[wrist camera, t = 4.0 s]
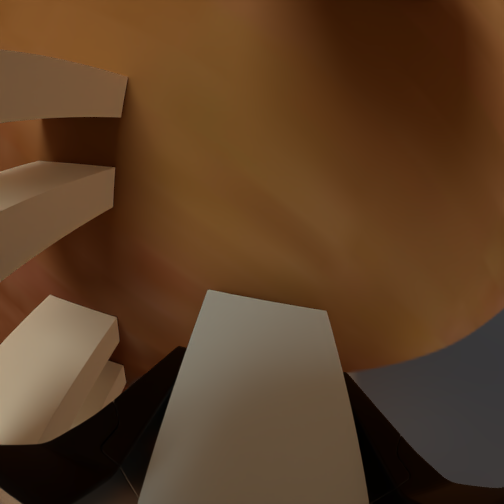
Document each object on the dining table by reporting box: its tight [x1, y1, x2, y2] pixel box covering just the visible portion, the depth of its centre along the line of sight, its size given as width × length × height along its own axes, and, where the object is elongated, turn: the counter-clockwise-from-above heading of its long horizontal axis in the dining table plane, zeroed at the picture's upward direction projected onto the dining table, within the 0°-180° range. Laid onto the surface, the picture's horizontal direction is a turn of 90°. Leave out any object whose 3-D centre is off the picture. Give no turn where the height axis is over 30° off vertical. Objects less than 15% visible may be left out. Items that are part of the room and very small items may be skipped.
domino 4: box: [69, 361, 126, 430], centre depth 11 cm, size 5×2×10 cm, turn 79°
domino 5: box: [138, 289, 369, 504], centre depth 7 cm, size 5×2×10 cm, turn 79°
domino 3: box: [0, 295, 120, 445], centre depth 10 cm, size 5×2×10 cm, turn 79°
